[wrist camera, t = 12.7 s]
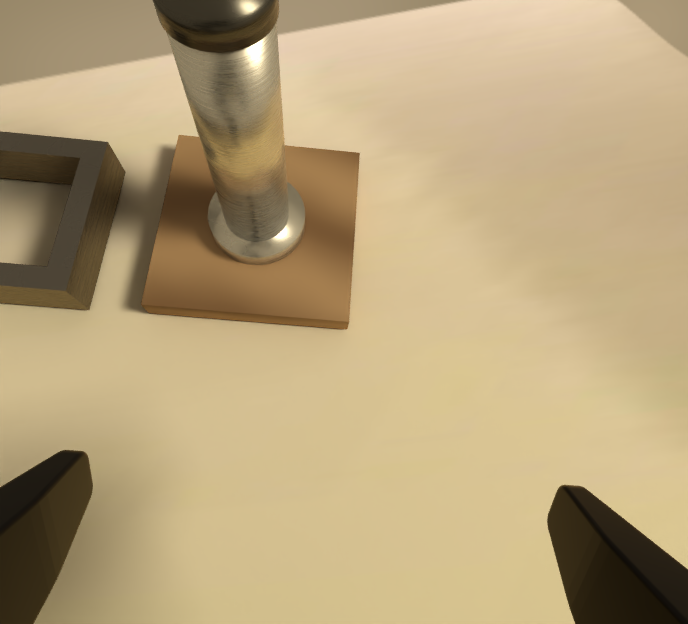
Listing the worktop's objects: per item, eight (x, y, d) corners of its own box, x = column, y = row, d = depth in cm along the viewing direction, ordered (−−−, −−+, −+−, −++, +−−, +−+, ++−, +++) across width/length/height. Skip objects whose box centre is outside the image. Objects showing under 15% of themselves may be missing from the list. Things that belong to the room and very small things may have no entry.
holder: (89, 309, 24) (65, 291, 22) (-82, 295, 24) (-125, 274, 21) (125, 172, 27) (107, 142, 24) (-27, 157, 26) (-59, 125, 24)
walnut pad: (347, 329, 25) (348, 321, 23) (148, 312, 24) (140, 304, 23) (357, 166, 28) (359, 152, 27) (184, 149, 28) (178, 135, 26)
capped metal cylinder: (275, 281, 24) (242, 68, 12) (193, 238, 24) (78, -10, 12) (321, 208, 25) (334, -46, 13) (243, 169, 26) (186, -110, 14)
